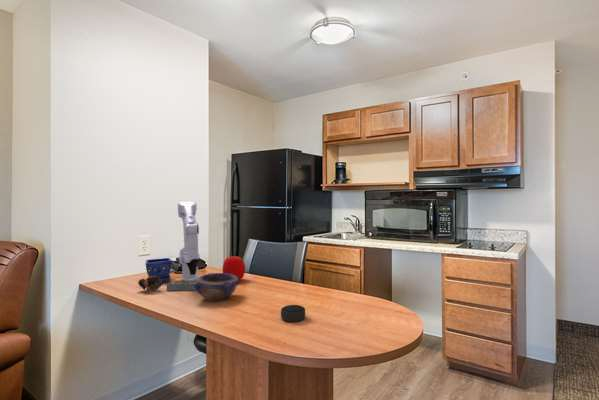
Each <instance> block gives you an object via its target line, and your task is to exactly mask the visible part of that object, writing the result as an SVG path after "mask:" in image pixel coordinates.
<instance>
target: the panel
mask: <svg viewBox="0 0 599 400" xmlns="http://www.w3.org/2000/svg"><path fill="white" fill-rule="evenodd" d="M166 291H169V292H170V291H171V292H172V291H173V292H174V291H176V292H177V291H178V292H179V291H185V292H186V291H196V290H195V288H194V284H189V281H184V283H183V284H176V282H175V280H173V281H171V282H169V283H167V284H166Z"/></svg>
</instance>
